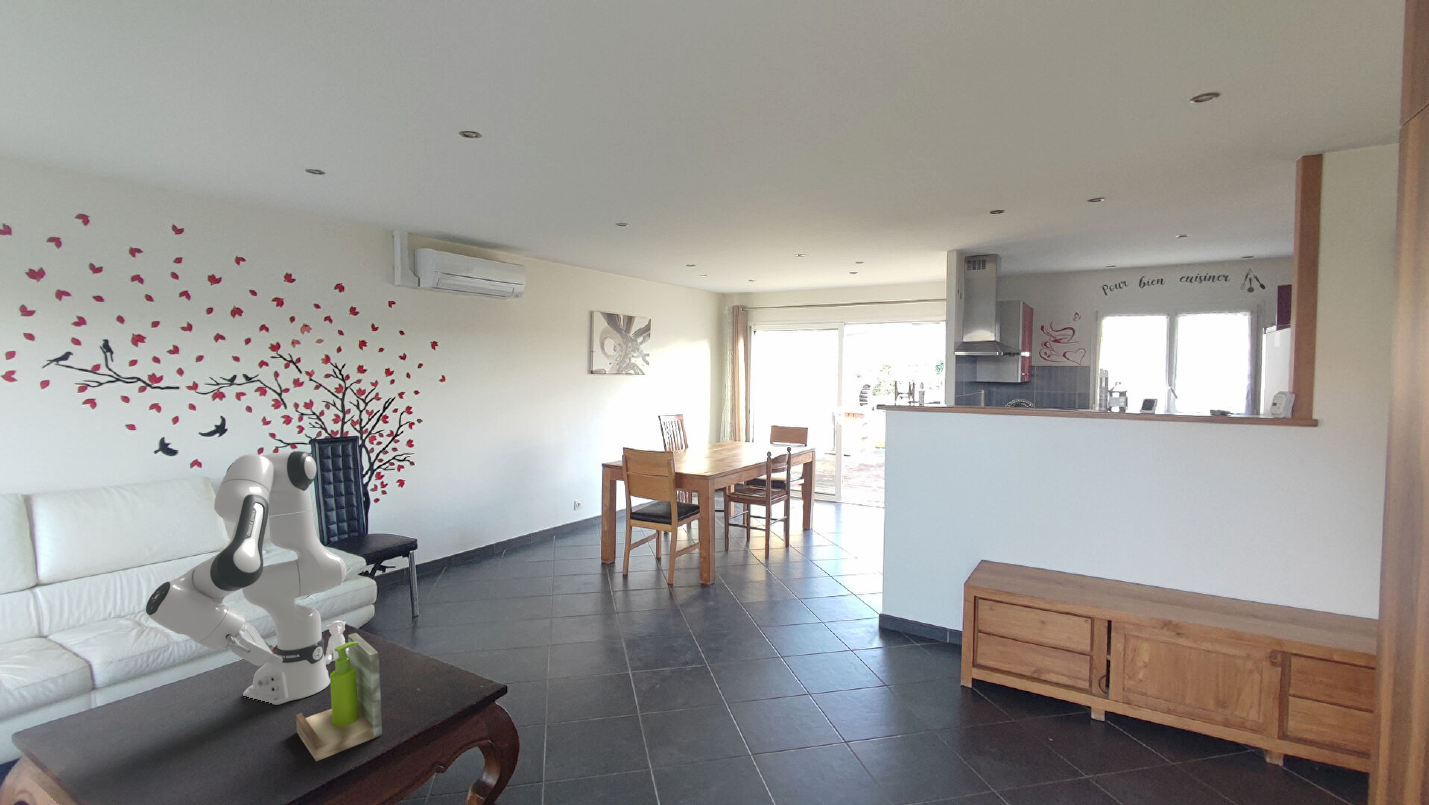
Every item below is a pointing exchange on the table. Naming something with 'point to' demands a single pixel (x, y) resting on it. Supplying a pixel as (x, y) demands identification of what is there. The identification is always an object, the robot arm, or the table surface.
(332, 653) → the white creature statuette
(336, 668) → the soap dispenser
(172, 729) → the table surface
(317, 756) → the wall board
